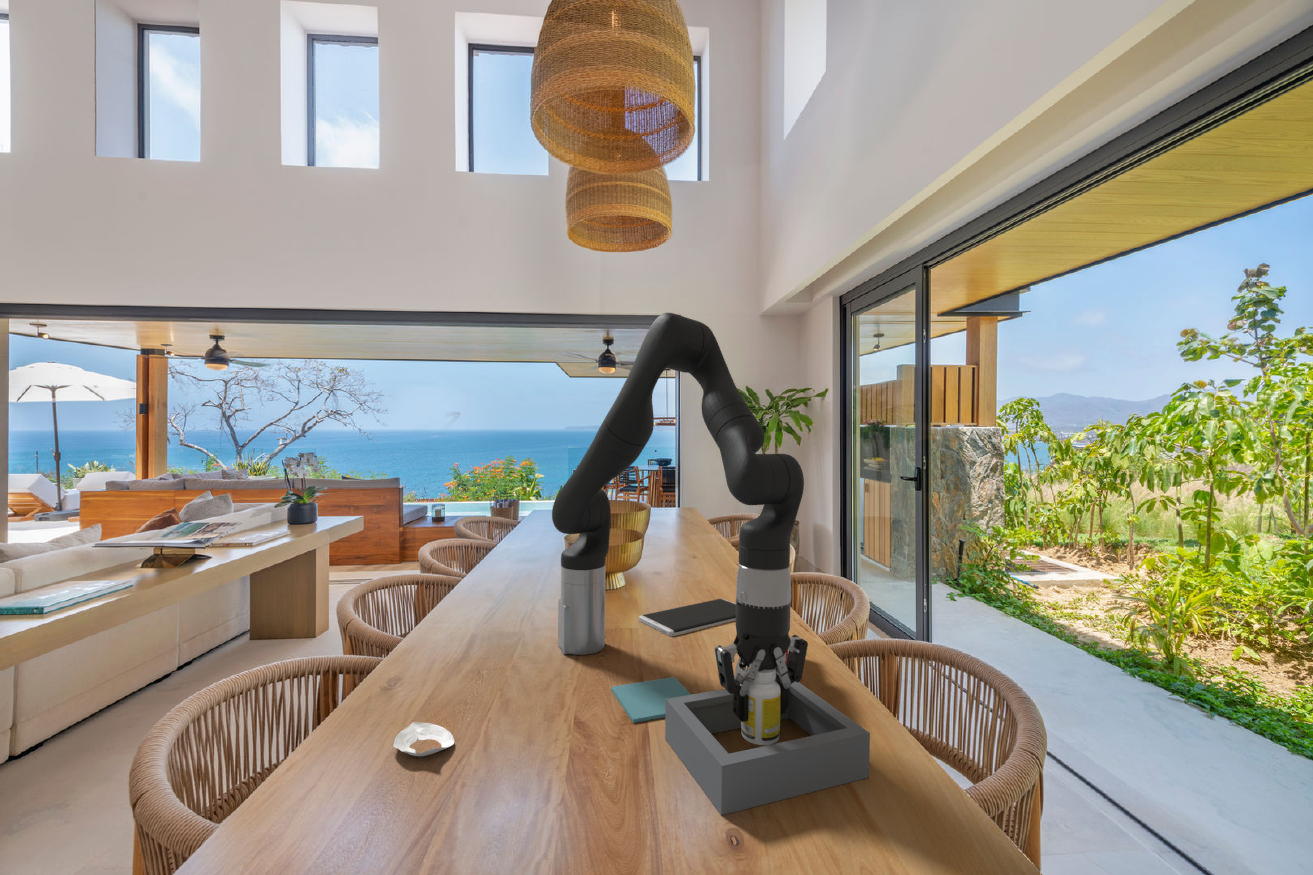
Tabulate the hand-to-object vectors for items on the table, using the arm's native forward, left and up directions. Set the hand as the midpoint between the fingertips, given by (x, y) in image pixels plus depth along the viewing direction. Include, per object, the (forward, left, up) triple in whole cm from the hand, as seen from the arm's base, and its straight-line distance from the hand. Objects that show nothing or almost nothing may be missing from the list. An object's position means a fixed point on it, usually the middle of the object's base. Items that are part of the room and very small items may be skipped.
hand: (760, 714), depth 82 cm
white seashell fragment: (-44, +19, -6) cm, 49 cm away
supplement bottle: (0, 0, -3) cm, 3 cm away
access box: (0, 0, -6) cm, 6 cm away
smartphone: (+17, +57, -7) cm, 60 cm away
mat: (-8, +21, -6) cm, 23 cm away
